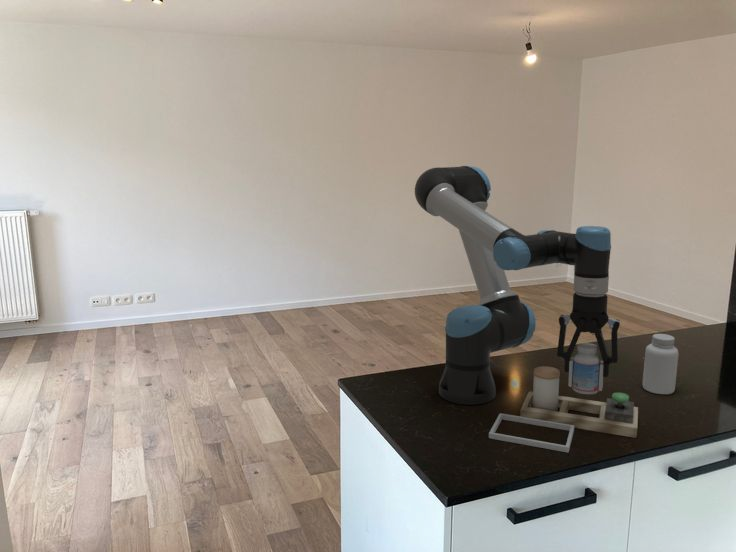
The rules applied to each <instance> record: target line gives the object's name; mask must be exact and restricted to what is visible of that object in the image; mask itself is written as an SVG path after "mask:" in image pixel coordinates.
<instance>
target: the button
mask: <svg viewBox="0 0 736 552" xmlns="http://www.w3.org/2000/svg"><path fill="white" fill-rule="evenodd" d="M611 399H613V400H614V401H616V402H617V407H619V408H622V407H623V403H626V402H628V401H630V400H629V399H630V395H628V394H627V393H624V392H614V393H612V395H611Z"/></svg>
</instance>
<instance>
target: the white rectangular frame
mask: <svg viewBox="0 0 736 552" xmlns="http://www.w3.org/2000/svg"><path fill="white" fill-rule="evenodd" d="M502 420H504V421H510V422H515V423H521V424H528V425H534V426H539V427H546V428H550V429H551V428H552V429H556V430H557V429H558V430H562V431H568V432H569V433H568V436H567V439H566V440H567V441H566V443H565V445H564V444H559V443H553V442H547V441H544V440H543V441H542V440H537V439H530V438H525V437H518V436H516V435H515V436H514V435H509V434H508V435H507V434H503V433H497V429H498V428H499V426H500V424H501V422H502ZM574 433H575V428H574V425H569V424H563V423H557V422H550V421H544V420H538V419H532V418H526V417H520V415H519V416H518V415H513V414H507V413H501V412H500V413H498V416H497V418H496V419H495V422H494V423H493V425H492V427H491V428H490V430H489V432H488V439H492V440H497V441H503V442H506V443H507V442H508V443H513V444H519V445H525V446H529V447H530V446H531V447H536V448H541V449H542V448H543V449H546V450H553V451H557V452H563V453H569V452H570V448H571V444H572V442H573V441H572V440H573V436H574Z"/></svg>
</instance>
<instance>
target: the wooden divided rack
mask: <svg viewBox="0 0 736 552" xmlns="http://www.w3.org/2000/svg"><path fill="white" fill-rule="evenodd" d="M522 403H523V404H522V406H521V408H520V413H519V414H520V415H519V416H520V417H526V418H532V419H538V420H544V421H550V422H557V423H563V424H569V425H574V429H581V430H585V431H592V432H597V433H605V434H610V435H616V436H623V437H628V438H634V439H637V437H638V423H639V421H638V420H639V407H638V406H635V402H634V401H630V400H629V401H628V402H626V403H623V407H622V408H619V407H617V402H616V401H614V400H613V399H612V398H606V402H604V401H597V400H591V399H583V398H576V397H571V396H564V395H558V409H559V411H558V412H557V411H550V410H544V409H537V408H533V407H532V406H533V391H528V393H527V394H526V397H525V399H524V401H523V402H522ZM570 410H571V411H575V412H581V413H588V414H594V415H599V417H593V416H587V415H582V414H574V413H568V412H569V411H570Z"/></svg>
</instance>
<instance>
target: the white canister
mask: <svg viewBox="0 0 736 552" xmlns="http://www.w3.org/2000/svg"><path fill="white" fill-rule="evenodd" d="M560 374H561V371H560V370H559V368H555V367H552V366H548V365H547V366H543V365H541V366H536V367H535V368H534V369H533V387H532V388H533V389H532V392H533V404H532V408H537V409H544V410H550V411H557V412H559V411H558V410H559V408H558V396H559V391H560V390H559V388H560V376H561V375H560Z"/></svg>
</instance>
